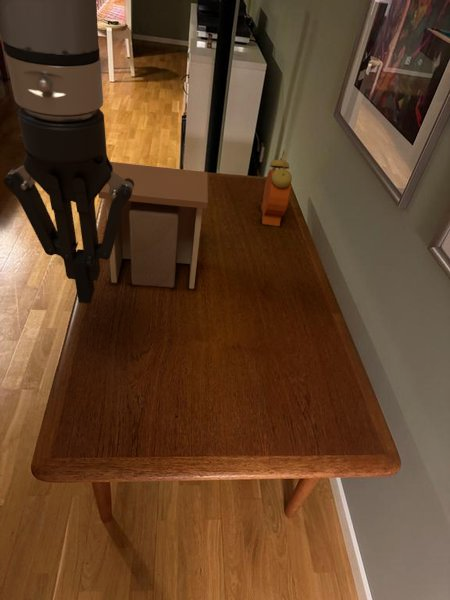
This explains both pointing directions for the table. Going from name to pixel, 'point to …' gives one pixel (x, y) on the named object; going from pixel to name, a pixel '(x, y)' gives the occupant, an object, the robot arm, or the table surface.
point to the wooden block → (153, 243)
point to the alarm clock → (276, 192)
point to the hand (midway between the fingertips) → (86, 295)
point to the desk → (168, 191)
